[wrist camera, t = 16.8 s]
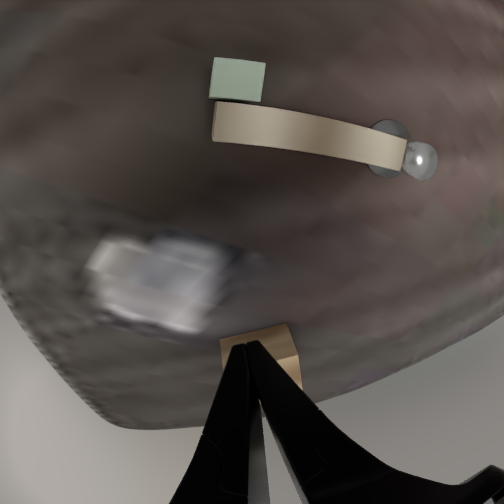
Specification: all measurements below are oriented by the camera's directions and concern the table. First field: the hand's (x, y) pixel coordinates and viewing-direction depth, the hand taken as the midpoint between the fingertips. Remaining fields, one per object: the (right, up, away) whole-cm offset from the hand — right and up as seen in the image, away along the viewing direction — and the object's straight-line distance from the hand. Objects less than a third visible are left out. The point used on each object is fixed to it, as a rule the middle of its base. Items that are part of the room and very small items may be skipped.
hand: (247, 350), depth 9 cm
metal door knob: (+10, +11, +10) cm, 17 cm away
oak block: (+1, -6, +18) cm, 19 cm away
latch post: (-1, +13, +6) cm, 15 cm away
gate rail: (+3, +11, +8) cm, 14 cm away
